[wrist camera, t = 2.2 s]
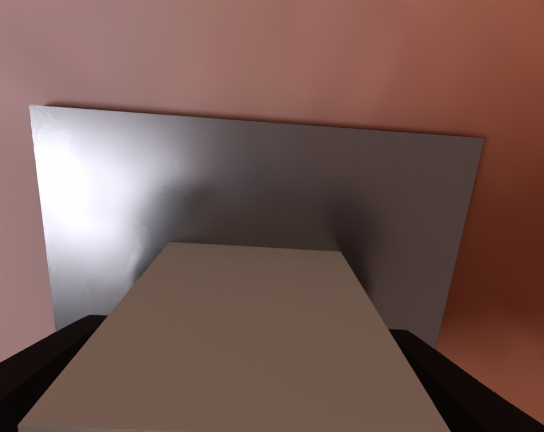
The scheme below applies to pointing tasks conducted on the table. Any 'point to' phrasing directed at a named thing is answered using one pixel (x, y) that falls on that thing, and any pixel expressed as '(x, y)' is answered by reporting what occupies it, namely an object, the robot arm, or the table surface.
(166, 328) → the pale grey cube box
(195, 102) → the table surface
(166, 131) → the post base
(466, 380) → the robot arm
